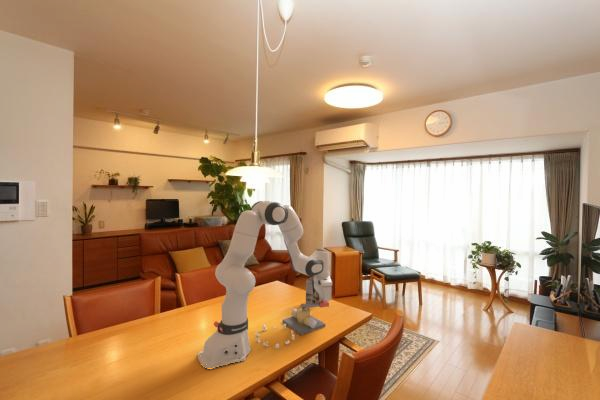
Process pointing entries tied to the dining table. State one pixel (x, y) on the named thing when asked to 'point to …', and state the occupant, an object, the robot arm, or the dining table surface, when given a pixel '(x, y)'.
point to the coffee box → (311, 292)
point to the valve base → (302, 327)
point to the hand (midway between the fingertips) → (321, 302)
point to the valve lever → (316, 304)
